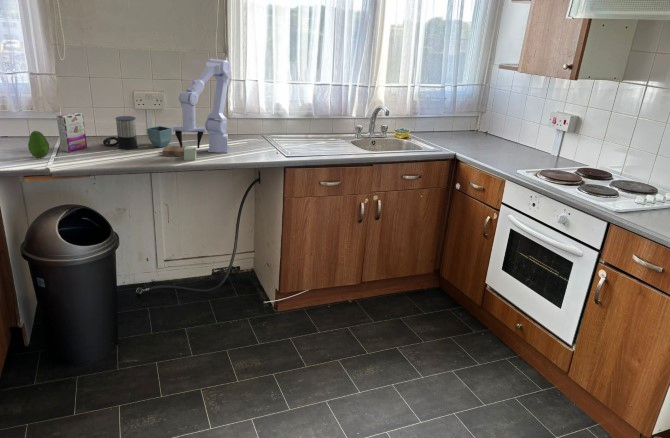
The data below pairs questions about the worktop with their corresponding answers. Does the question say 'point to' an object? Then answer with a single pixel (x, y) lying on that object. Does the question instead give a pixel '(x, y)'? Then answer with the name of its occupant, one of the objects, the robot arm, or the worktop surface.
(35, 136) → the avocado
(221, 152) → the robot arm
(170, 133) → the flower pot
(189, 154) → the cube
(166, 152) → the base slab
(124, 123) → the milk frother
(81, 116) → the candy bar box
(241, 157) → the worktop surface
